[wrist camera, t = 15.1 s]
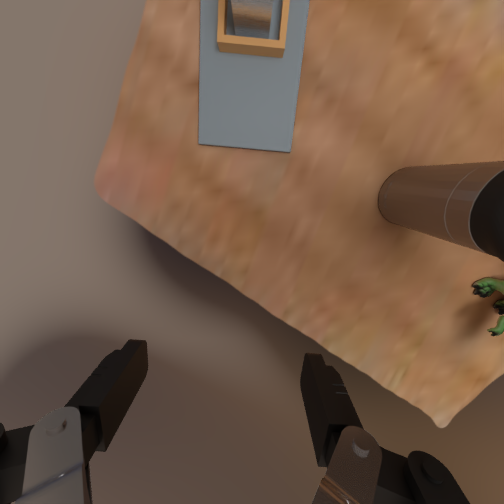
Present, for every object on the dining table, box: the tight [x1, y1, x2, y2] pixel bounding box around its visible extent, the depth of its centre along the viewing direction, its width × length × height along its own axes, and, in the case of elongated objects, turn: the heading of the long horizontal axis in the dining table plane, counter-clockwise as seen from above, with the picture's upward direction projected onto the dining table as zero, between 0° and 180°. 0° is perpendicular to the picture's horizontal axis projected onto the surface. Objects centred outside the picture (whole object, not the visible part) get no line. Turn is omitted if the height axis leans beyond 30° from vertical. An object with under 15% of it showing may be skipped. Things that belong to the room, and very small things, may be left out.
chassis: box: [199, 0, 310, 153], centre depth 32 cm, size 14×22×4 cm, turn 175°
